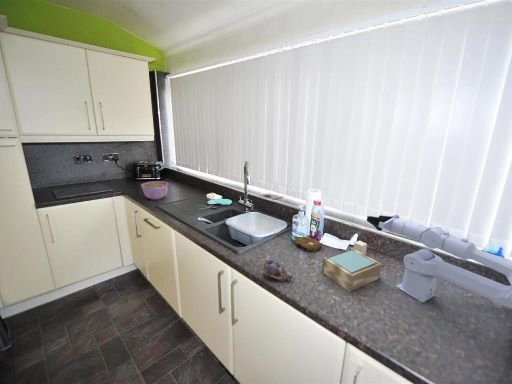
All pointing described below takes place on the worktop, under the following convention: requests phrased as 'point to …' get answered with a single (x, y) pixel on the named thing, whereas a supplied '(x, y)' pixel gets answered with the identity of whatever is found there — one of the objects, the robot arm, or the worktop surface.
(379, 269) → the trapdoor frame
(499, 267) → the robot arm
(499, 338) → the worktop surface
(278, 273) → the purple lumpy piece
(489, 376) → the worktop surface
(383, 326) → the worktop surface
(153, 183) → the bowl of food
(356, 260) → the trapdoor
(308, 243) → the decorative rock
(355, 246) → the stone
